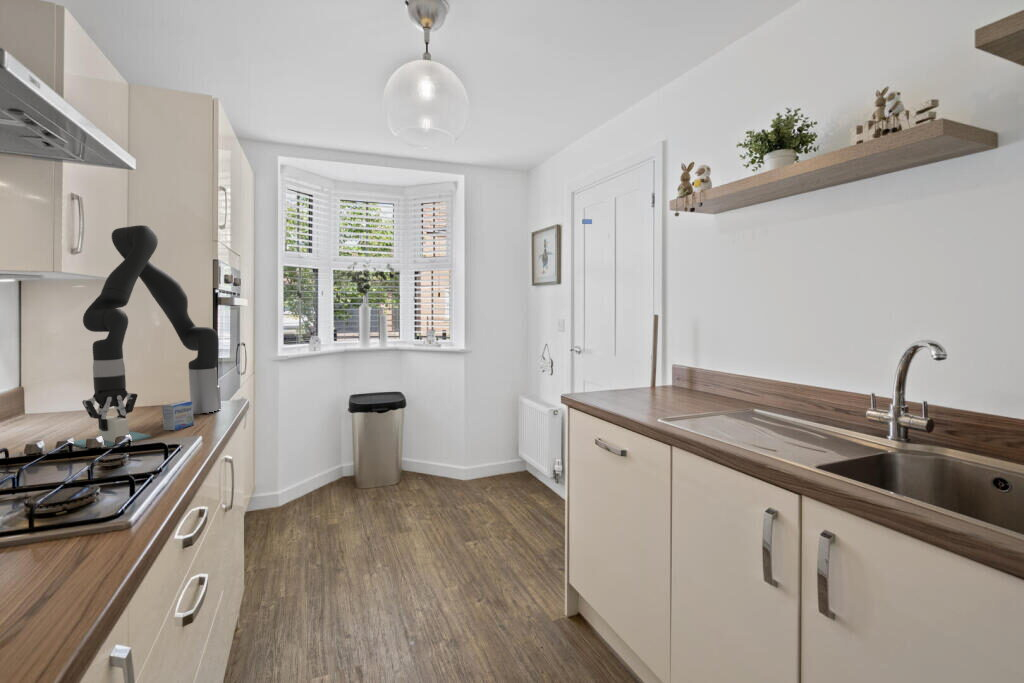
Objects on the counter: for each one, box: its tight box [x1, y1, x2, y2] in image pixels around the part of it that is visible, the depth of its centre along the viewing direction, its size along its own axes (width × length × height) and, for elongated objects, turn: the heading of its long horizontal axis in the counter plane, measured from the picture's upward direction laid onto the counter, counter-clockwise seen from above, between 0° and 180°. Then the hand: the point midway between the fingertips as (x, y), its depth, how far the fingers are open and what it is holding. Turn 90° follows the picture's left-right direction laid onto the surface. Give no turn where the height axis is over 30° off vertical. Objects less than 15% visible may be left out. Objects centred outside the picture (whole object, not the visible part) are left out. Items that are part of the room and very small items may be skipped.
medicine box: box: [161, 400, 194, 432], centre depth 165 cm, size 8×4×9 cm, turn 168°
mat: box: [72, 430, 152, 449], centre depth 150 cm, size 15×14×1 cm
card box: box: [97, 415, 130, 442], centre depth 149 cm, size 4×6×10 cm
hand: (112, 428), depth 149 cm, fingers open, 3 cm apart
